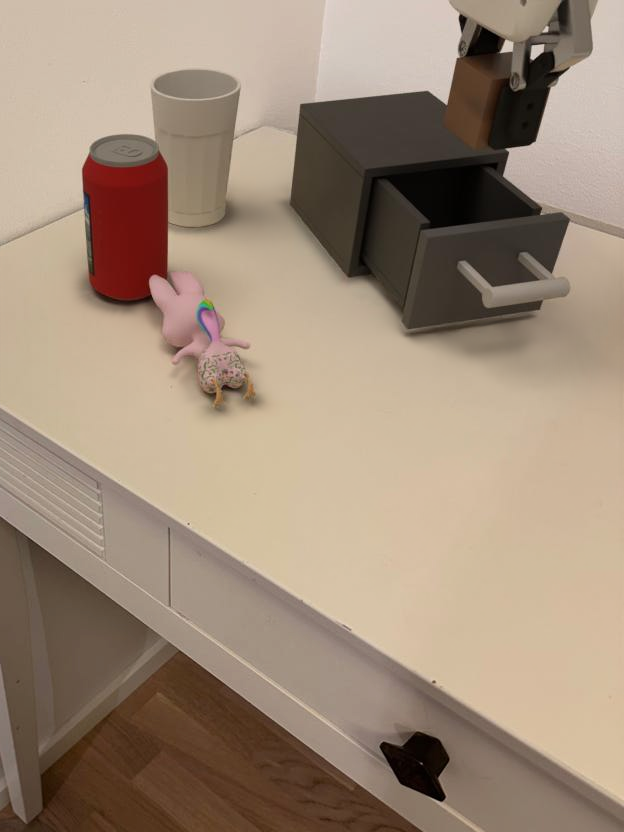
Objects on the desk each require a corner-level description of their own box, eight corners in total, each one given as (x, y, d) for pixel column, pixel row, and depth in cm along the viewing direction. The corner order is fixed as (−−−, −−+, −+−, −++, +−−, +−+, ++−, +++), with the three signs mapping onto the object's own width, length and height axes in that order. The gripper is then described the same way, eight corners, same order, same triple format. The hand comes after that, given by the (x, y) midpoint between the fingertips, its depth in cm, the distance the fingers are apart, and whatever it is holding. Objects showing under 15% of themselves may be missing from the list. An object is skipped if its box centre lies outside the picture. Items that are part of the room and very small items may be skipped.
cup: (147, 196, 89) (145, 70, 80) (225, 191, 89) (232, 66, 81) (156, 233, 83) (155, 102, 75) (240, 228, 83) (249, 97, 75)
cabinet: (481, 258, 78) (509, 152, 72) (347, 276, 77) (365, 168, 70) (408, 188, 89) (427, 90, 82) (289, 203, 87) (299, 103, 80)
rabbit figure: (271, 409, 65) (196, 283, 74) (284, 349, 61) (203, 222, 69) (192, 428, 64) (125, 297, 72) (200, 368, 59) (127, 236, 68)
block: (500, 118, 64) (517, 50, 61) (536, 142, 61) (555, 72, 58) (442, 125, 63) (456, 57, 60) (474, 150, 60) (491, 79, 57)
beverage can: (120, 258, 79) (115, 124, 71) (183, 280, 77) (185, 142, 68) (73, 291, 75) (62, 152, 67) (137, 315, 73) (134, 173, 64)
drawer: (580, 348, 67) (616, 254, 61) (440, 370, 65) (465, 275, 60) (458, 232, 80) (479, 147, 75) (340, 248, 78) (353, 162, 73)
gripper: (435, -207, 55) (386, 95, 67) (600, -172, 43) (504, 189, 55) (543, -214, 56) (476, 84, 69) (734, -181, 44) (611, 174, 56)
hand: (489, 128), depth 62 cm, fingers closed on block, 4 cm apart
